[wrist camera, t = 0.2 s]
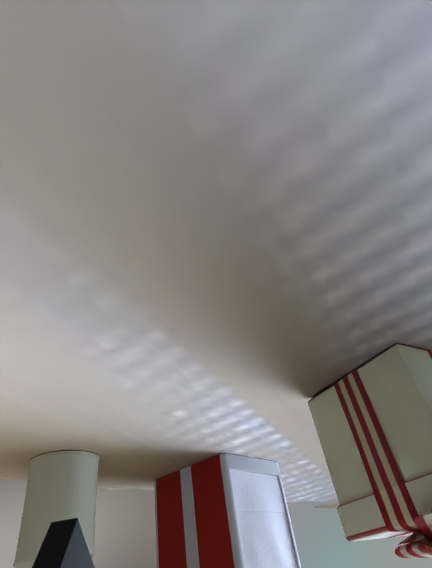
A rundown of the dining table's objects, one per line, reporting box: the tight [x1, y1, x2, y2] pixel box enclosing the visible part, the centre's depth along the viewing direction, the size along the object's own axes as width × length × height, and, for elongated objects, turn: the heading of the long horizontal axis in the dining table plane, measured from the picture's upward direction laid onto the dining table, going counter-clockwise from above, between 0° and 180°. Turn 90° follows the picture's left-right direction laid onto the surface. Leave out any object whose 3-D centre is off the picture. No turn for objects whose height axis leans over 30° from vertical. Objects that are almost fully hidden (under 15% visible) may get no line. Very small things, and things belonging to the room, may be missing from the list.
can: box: [13, 451, 100, 568], centre depth 49 cm, size 9×9×12 cm
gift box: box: [308, 344, 432, 558], centre depth 39 cm, size 17×18×17 cm
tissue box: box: [154, 453, 301, 568], centre depth 61 cm, size 17×18×27 cm
